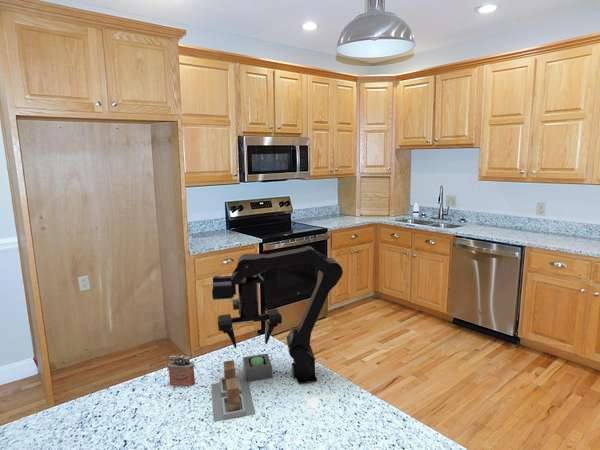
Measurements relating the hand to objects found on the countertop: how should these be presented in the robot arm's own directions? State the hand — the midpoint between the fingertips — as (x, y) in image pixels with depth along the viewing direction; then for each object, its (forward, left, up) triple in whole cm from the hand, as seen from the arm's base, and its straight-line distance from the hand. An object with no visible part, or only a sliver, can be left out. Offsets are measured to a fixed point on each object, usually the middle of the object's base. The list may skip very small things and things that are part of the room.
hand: (250, 345), depth 119 cm
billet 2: (+7, +13, -11) cm, 18 cm away
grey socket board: (+7, +8, -12) cm, 16 cm away
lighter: (+21, -4, -12) cm, 25 cm away
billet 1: (+7, +3, -11) cm, 13 cm away
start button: (-2, -3, -10) cm, 11 cm away
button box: (-2, -3, -12) cm, 13 cm away
